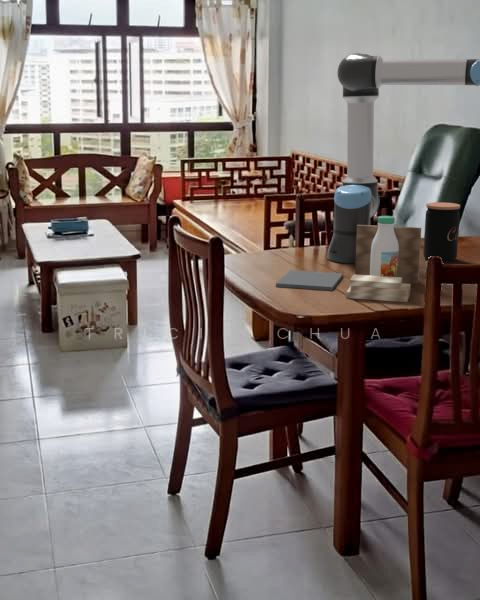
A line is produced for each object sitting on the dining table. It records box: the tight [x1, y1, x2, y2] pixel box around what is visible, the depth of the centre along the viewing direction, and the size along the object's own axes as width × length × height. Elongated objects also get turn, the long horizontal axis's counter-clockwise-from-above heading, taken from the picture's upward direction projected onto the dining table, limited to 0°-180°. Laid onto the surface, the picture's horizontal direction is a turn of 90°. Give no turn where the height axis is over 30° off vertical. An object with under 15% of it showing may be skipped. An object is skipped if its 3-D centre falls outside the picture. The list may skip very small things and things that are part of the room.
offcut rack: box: [345, 224, 422, 303], centre depth 233 cm, size 18×26×16 cm
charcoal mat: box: [275, 269, 344, 292], centre depth 243 cm, size 16×18×1 cm
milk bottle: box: [370, 215, 399, 277], centre depth 234 cm, size 8×8×20 cm
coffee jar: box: [422, 201, 461, 263], centre depth 272 cm, size 11×11×18 cm
